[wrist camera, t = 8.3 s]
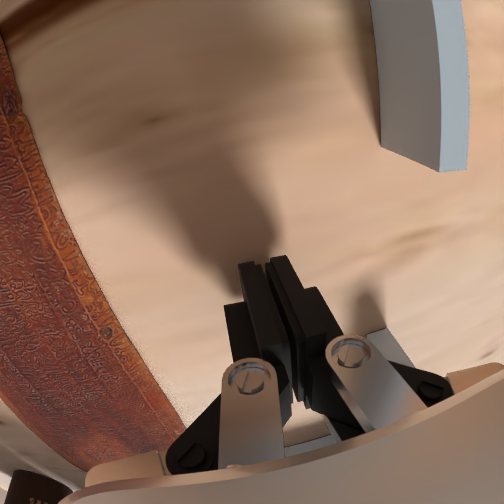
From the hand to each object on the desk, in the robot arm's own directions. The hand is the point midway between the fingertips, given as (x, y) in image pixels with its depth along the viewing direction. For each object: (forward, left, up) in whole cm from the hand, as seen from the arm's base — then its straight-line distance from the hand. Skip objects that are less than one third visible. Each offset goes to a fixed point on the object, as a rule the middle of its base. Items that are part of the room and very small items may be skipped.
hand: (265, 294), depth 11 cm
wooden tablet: (+10, +1, -2) cm, 11 cm away
